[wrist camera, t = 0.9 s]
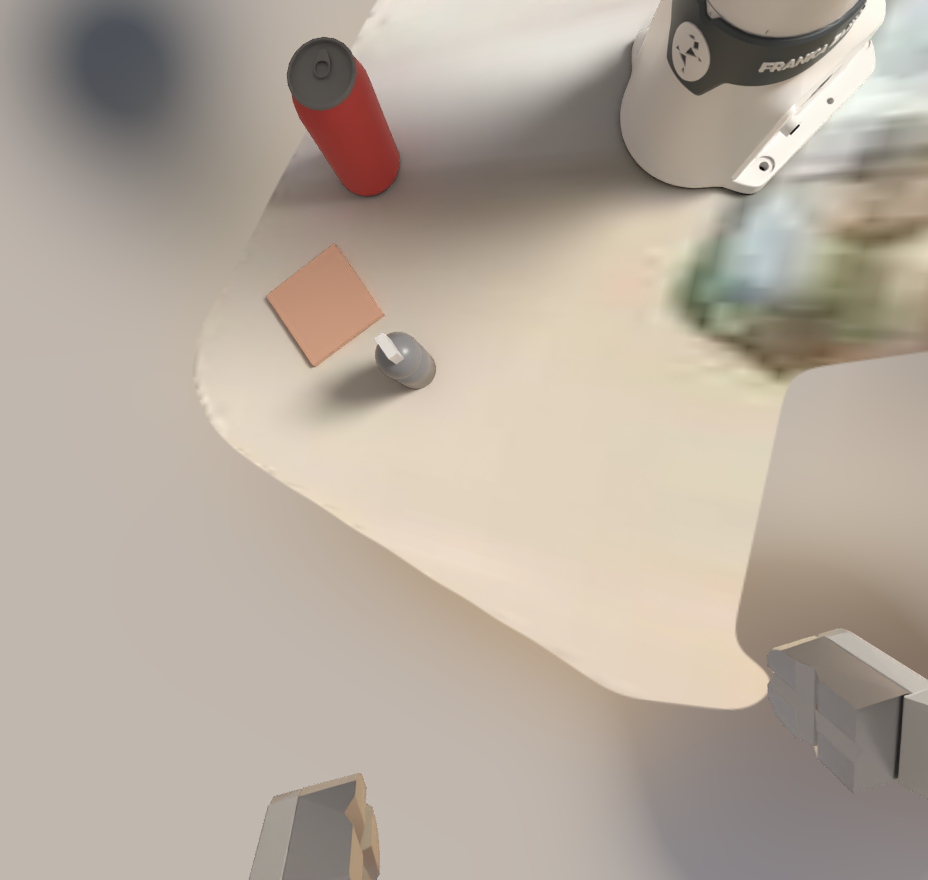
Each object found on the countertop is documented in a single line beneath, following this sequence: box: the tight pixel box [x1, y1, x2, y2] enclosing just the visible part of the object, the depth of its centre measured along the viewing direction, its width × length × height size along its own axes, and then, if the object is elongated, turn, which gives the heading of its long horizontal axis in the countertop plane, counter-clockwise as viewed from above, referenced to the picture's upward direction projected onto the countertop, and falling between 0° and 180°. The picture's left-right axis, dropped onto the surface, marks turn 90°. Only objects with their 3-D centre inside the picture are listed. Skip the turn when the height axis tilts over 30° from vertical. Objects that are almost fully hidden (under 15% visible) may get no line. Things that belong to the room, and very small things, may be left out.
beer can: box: [287, 37, 400, 196], centre depth 40 cm, size 7×7×12 cm
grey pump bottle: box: [374, 332, 436, 389], centre depth 40 cm, size 4×4×11 cm
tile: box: [266, 244, 384, 367], centre depth 46 cm, size 9×9×1 cm
